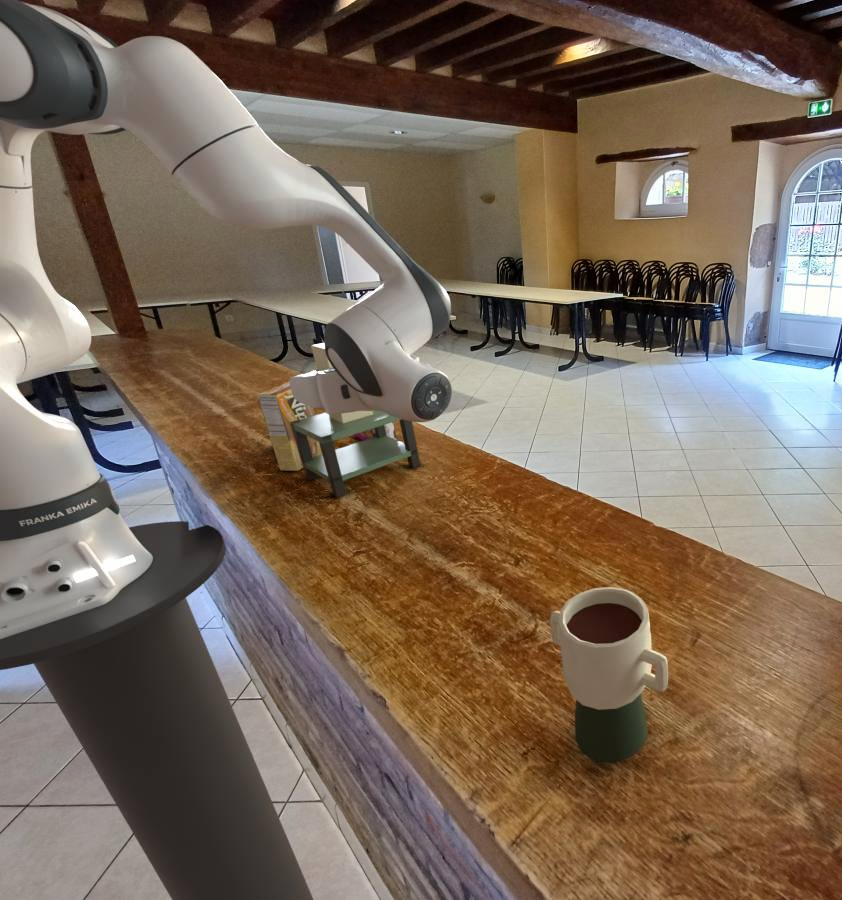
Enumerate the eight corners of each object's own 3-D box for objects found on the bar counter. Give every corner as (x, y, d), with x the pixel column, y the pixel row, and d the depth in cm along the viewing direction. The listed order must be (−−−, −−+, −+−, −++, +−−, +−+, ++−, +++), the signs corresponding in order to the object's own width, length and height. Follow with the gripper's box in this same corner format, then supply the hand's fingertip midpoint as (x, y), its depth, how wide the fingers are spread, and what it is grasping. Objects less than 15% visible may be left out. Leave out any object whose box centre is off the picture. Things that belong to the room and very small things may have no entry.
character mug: (687, 733, 47) (688, 611, 42) (646, 802, 42) (642, 672, 37) (583, 683, 53) (574, 570, 48) (536, 738, 48) (519, 617, 43)
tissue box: (343, 423, 95) (324, 347, 90) (329, 417, 99) (310, 344, 93) (373, 414, 99) (356, 341, 94) (359, 409, 102) (342, 338, 97)
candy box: (308, 452, 113) (288, 380, 107) (327, 453, 113) (307, 380, 107) (279, 471, 105) (255, 394, 99) (299, 471, 105) (276, 394, 99)
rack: (337, 497, 93) (321, 437, 89) (306, 478, 102) (289, 422, 97) (420, 465, 104) (409, 410, 100) (386, 450, 112) (375, 398, 108)
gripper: (432, 348, 93) (390, 340, 101) (307, 376, 79) (272, 364, 88) (438, 384, 95) (397, 373, 104) (318, 418, 81) (283, 402, 90)
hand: (338, 370), depth 96 cm, fingers open, 8 cm apart
